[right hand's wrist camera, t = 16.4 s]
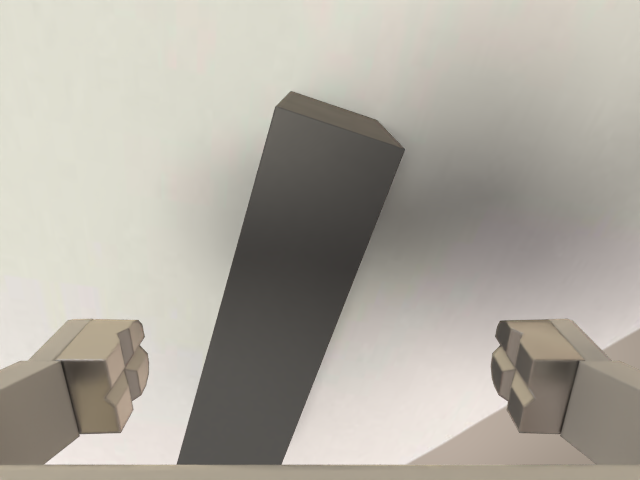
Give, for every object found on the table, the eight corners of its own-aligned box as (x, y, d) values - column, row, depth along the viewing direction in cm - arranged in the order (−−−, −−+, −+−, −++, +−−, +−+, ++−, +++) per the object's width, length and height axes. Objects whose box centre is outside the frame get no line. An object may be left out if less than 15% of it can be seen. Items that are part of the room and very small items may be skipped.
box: (290, 90, 30) (275, 105, 20) (377, 120, 31) (405, 148, 21) (202, 402, 40) (162, 517, 30) (269, 418, 41) (252, 537, 31)
